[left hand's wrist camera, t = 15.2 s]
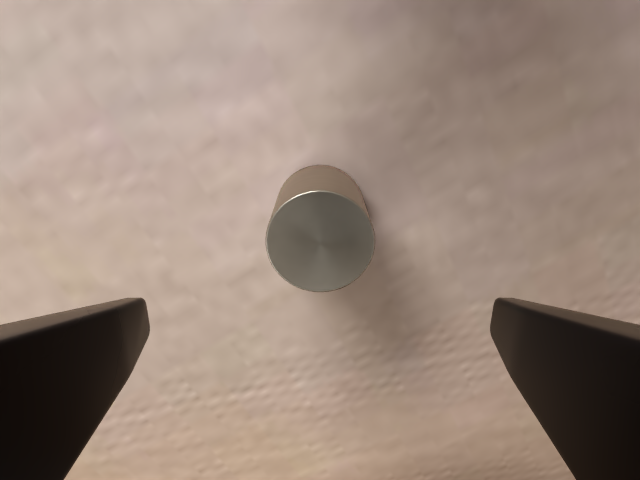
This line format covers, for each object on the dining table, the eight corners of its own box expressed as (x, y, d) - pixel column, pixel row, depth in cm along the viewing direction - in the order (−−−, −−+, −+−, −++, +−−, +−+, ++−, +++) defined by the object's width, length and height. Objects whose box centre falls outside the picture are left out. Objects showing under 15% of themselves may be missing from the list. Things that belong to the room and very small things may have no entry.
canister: (285, 155, 19) (276, 179, 15) (373, 175, 19) (388, 204, 15) (269, 238, 21) (256, 281, 16) (351, 256, 21) (359, 301, 17)
